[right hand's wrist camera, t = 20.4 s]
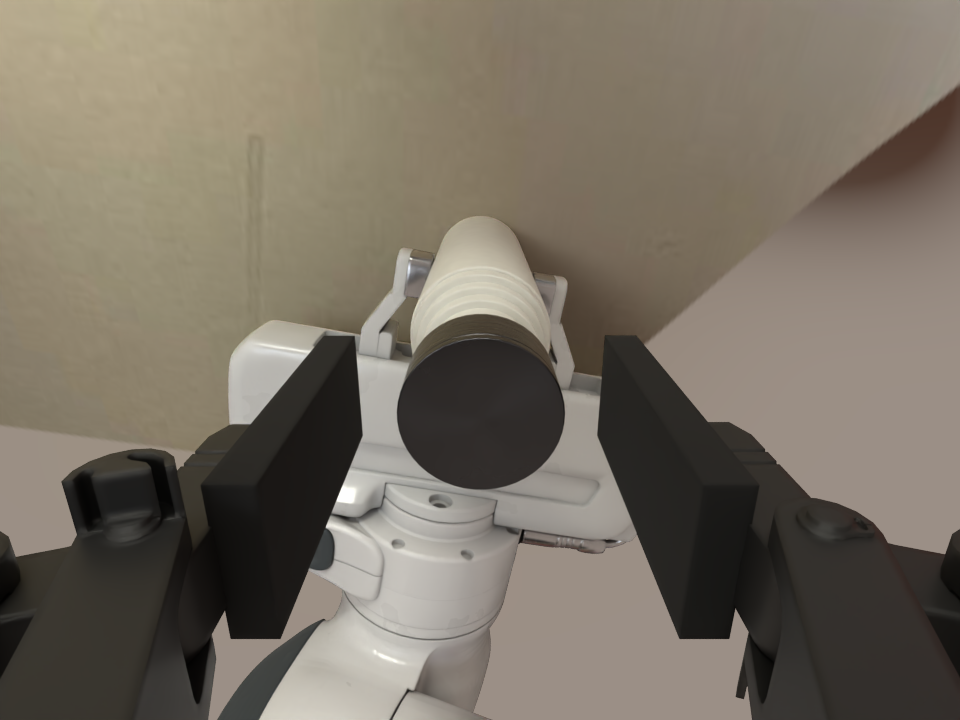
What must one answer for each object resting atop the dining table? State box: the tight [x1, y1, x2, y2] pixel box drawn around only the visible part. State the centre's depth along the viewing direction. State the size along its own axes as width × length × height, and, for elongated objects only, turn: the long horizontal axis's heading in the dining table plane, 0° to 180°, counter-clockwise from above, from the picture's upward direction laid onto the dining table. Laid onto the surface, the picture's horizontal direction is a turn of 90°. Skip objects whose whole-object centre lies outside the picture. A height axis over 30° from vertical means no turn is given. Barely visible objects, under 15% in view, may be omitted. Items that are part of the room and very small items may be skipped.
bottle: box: [410, 216, 551, 354], centre depth 22 cm, size 4×4×19 cm
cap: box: [397, 314, 565, 490], centre depth 14 cm, size 4×4×2 cm
